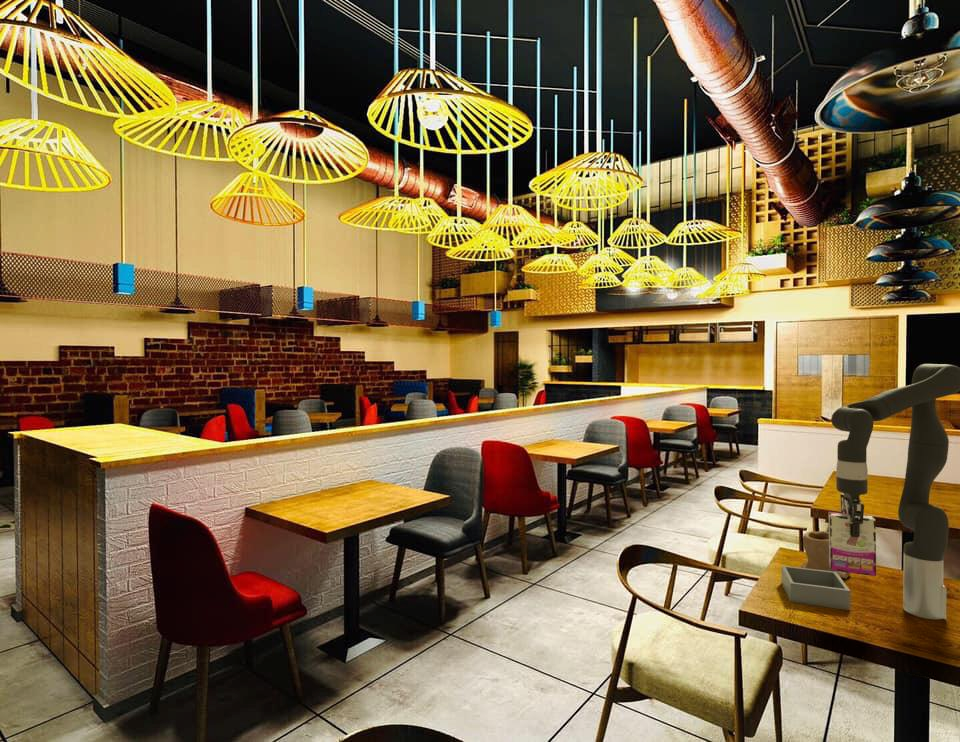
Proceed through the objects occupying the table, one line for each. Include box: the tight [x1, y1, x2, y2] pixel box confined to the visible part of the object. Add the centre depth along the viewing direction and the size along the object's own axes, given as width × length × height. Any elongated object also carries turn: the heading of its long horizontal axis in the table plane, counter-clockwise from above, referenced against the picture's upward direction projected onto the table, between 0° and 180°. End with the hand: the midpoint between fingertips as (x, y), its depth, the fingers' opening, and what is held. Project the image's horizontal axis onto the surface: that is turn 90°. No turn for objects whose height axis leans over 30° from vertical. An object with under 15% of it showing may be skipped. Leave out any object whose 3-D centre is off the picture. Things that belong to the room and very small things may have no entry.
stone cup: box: [800, 530, 851, 579], centre depth 190 cm, size 15×12×15 cm
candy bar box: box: [828, 511, 877, 577], centre depth 156 cm, size 11×5×16 cm, turn 63°
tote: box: [781, 565, 851, 611], centre depth 172 cm, size 16×16×6 cm
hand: (851, 533), depth 156 cm, fingers closed on candy bar box, 5 cm apart
